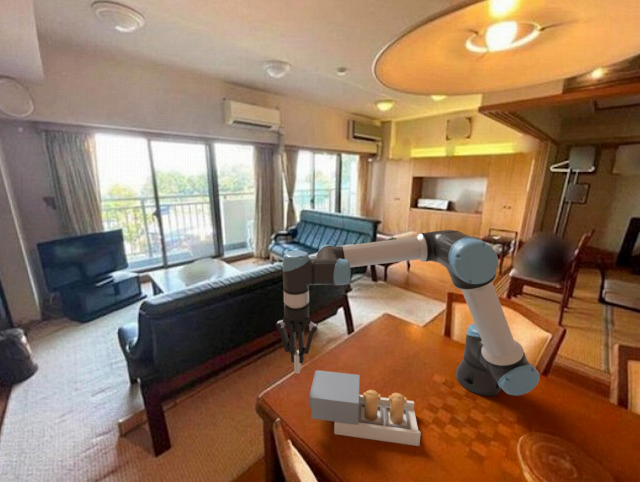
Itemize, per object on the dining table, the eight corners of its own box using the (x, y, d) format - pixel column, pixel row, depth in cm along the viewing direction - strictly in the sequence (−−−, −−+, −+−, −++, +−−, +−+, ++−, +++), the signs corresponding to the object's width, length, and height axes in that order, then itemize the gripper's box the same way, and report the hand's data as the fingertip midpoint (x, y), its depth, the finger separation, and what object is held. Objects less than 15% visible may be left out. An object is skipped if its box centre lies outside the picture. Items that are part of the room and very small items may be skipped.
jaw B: (403, 414, 90) (405, 393, 88) (405, 425, 86) (407, 403, 84) (387, 412, 90) (388, 391, 89) (388, 423, 87) (389, 402, 85)
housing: (412, 412, 94) (413, 401, 93) (419, 446, 82) (420, 433, 81) (337, 402, 97) (338, 392, 96) (334, 434, 86) (334, 422, 85)
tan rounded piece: (378, 411, 91) (380, 390, 89) (379, 422, 87) (380, 400, 85) (362, 409, 92) (363, 388, 90) (362, 419, 88) (363, 398, 86)
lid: (358, 394, 95) (359, 374, 93) (357, 424, 84) (358, 403, 82) (315, 388, 97) (315, 370, 96) (309, 418, 86) (308, 397, 84)
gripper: (320, 298, 87) (319, 364, 92) (279, 295, 89) (281, 360, 94) (316, 310, 79) (316, 381, 85) (271, 306, 81) (274, 376, 87)
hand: (297, 370), depth 90 cm, fingers closed
